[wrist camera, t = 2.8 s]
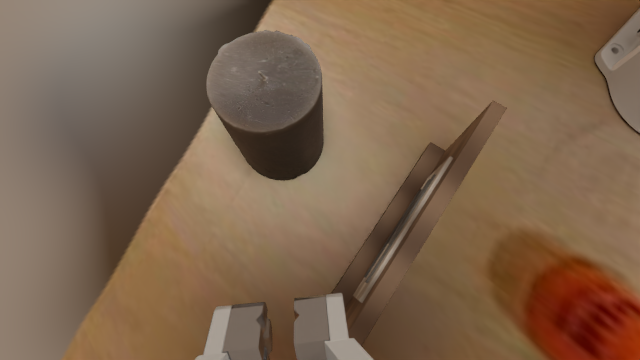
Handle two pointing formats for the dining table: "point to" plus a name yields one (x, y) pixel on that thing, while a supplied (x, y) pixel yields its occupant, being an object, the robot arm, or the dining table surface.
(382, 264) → the label placard
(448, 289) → the dining table surface
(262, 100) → the pillar candle
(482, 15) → the dining table surface
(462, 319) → the dining table surface
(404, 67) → the dining table surface
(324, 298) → the robot arm
